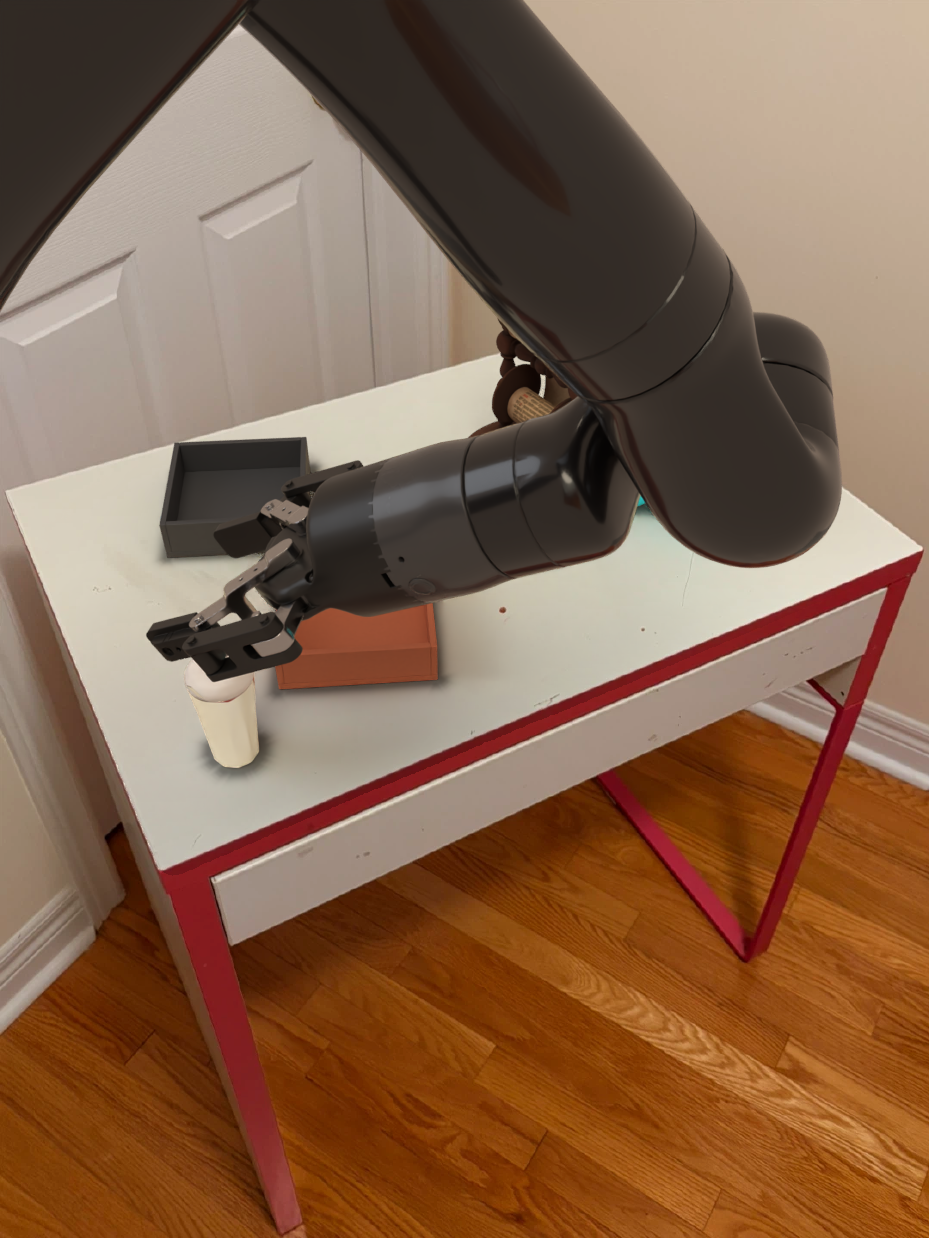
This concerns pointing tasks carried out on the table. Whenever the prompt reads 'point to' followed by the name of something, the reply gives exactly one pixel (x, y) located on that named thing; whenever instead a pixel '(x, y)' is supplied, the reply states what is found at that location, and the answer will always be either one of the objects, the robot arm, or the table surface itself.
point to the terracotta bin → (363, 649)
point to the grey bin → (223, 487)
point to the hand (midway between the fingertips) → (192, 590)
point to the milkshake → (225, 714)
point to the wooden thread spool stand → (523, 386)
